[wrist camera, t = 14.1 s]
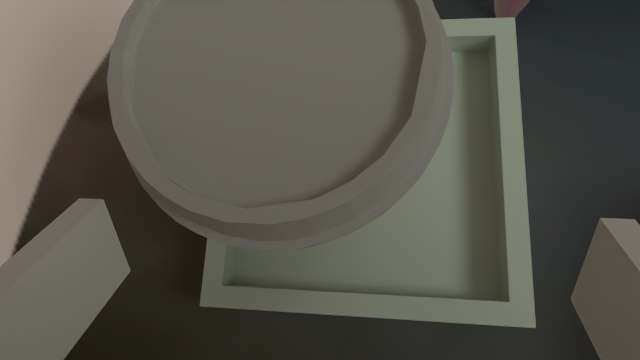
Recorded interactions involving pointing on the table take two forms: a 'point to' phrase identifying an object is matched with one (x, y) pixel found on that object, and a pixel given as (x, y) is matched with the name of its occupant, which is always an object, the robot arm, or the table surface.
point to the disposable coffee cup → (279, 112)
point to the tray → (421, 220)
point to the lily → (508, 7)
